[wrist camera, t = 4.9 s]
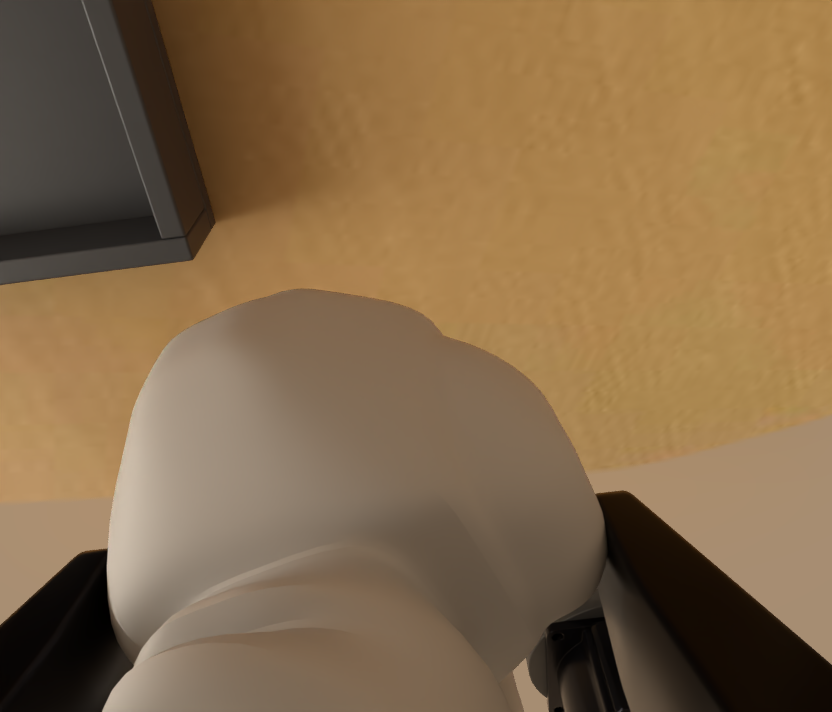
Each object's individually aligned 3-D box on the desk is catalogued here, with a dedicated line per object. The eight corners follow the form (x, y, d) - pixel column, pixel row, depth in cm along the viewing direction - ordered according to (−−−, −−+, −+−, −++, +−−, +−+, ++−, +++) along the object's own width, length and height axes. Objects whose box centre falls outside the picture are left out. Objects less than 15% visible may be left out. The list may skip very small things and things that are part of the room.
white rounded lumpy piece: (447, 141, 8) (998, 1907, 1) (614, 519, 11) (1004, 1502, 4) (58, 330, 9) (-1138, 1787, 2) (317, 624, 12) (228, 1544, 5)
